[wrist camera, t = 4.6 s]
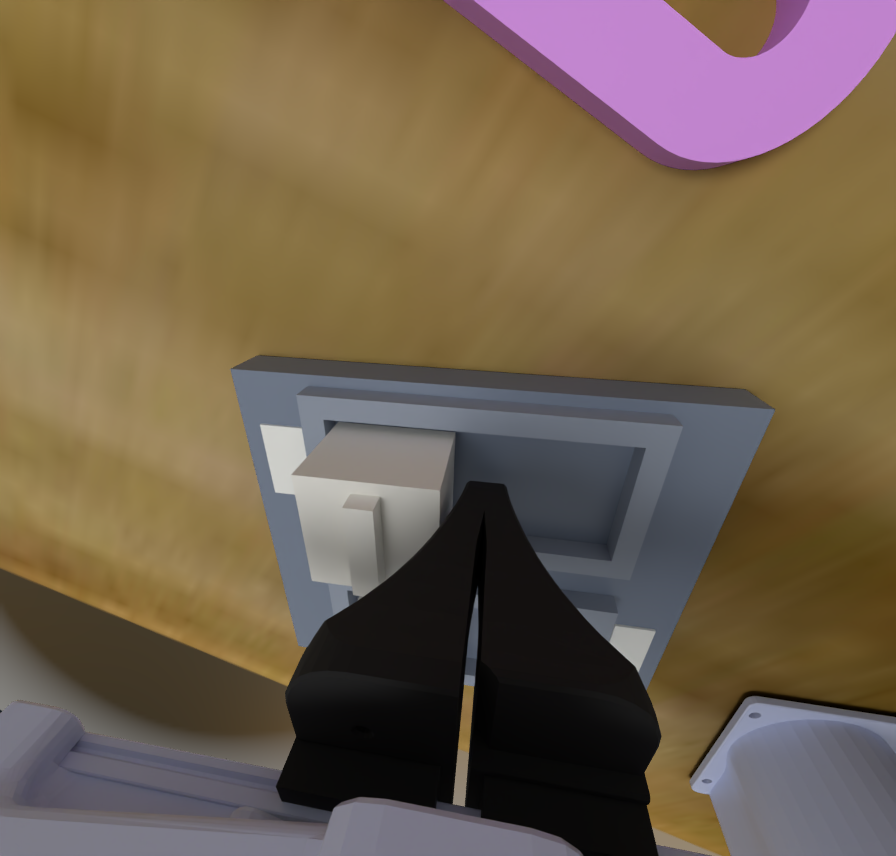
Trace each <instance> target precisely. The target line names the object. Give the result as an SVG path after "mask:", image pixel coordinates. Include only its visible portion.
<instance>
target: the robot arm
mask: <svg viewBox="0 0 896 856" xmlns="http://www.w3.org/2000/svg"><path fill="white" fill-rule="evenodd" d="M477 587H478V646H477V659H476V672H475V685H474V697H473V710H472V723H471V735H470V748H469V761H468V773H467V786H466V798H465V807H463V806H458V805H453V795H454V783H455V773H456V763H457V751H458V742H459V731H460V721H461V710H462V700H463V689H464V679H465V668H466V658H467V647H468V638H469V631H470V625H471V620H472V614H473V609H474V603H475V598H476V593H477ZM285 697H286V704H287V708H288V711H289V714H290V717H291V721H292V724H293V727H294V730H295V734H296V739H295V741H294V744H293V746H292V749H291V751H290V753H289V756H288V758H287V761H286V763H285V765H284V768H283V770H277V769H271V768H267V767H262V766H256V765H252V764H246V763H241V762H236V761H231V760H226V759H221V758H216V757H211V756H206V755H201V754H196V753H191V752H186V751H181V750H176V749H171V748H166V747H161V746H156V745H151V744H145V743H141V742H136V741H131V740H125V739H120V738H115V737H110V736H105V735H100V734H95V733H90V732H85V728H84V726H83V725H82V723H81V721H80V720H79V719H78V718H77V717H76V716H75V715H74V714H73V713H71V712H69V711H67V710H65V709H62V708H58V707H54V706H49V705H43V704H38V703H33V702H27V701H23V700H17V701H13V702H12V703H11V704H10V705H8V706H7V707H6V708H5V709H4V710H3V711H2V712H1V713H0V856H710V855H705V854H700V853H695V852H690V851H685V850H680V849H675V848H670V847H665V846H660V845H656V842H655V838H654V834H653V830H652V826H651V822H650V817H649V813H648V809H647V805H648V804H649V803H650V793H649V789H648V785H647V781H646V777H645V774H644V772H645V770H646V769H647V767H648V765H649V763H650V761H651V760H652V758H653V756H654V754H655V752H656V750H657V749H658V747H659V743H660V740H661V733H660V729H659V725H658V721H657V717H656V714H655V711H654V708H653V705H652V703H651V700H650V698H649V696H648V693H647V691H646V689H645V686H644V684H643V682H642V680H641V678H640V675H639V673H638V671H637V669H636V667H635V666H634V665H633V664H632V663H631V662H630V661H629V660H628V659H627V658H625V657H624V656H623V655H622V654H621V653H620V652H619V651H618V650H617V649H616V648H615V647H613V646H612V645H611V644H610V643H609V642H608V641H607V640H606V639H605V638H604V637H603V636H602V635H601V634H600V633H599V632H598V631H597V630H596V629H595V628H594V627H593V626H592V625H591V624H590V623H589V622H588V621H587V620H586V619H585V618H584V616H583V615H582V614H581V613H580V612H579V611H578V609H577V608H576V607H575V606H574V605H573V603H572V602H571V601H570V600H569V599H568V598H567V596H566V595H565V594H564V593H563V592H562V590H561V589H560V588H559V586H558V585H557V584H556V582H555V581H554V580H553V578H552V577H551V576H550V574H549V573H548V571H547V570H546V568H545V567H544V565H543V564H542V562H541V561H540V559H539V558H538V556H537V554H536V553H535V551H534V549H533V547H532V546H531V544H530V542H529V540H528V539H527V537H526V535H525V533H524V531H523V529H522V527H521V525H520V522H519V520H518V518H517V516H516V514H515V511H514V509H513V506H512V504H511V501H510V498H509V494H508V490H507V487H506V486H505V485H504V484H500V483H490V482H480V481H469V482H467V483H466V486H465V488H464V490H463V492H462V494H461V496H460V498H459V499H458V501H457V503H456V504H455V506H454V507H453V509H452V510H451V512H450V513H449V515H448V516H447V517H446V519H445V520H444V522H443V523H442V524H441V525H440V527H439V528H438V529H437V530H436V532H435V533H434V534H433V535H432V537H431V538H430V539H429V540H428V541H427V542H426V543H425V544H424V545H423V547H422V548H421V549H420V550H419V551H418V552H417V553H416V554H415V555H414V556H413V557H412V558H411V559H410V560H409V561H407V562H406V563H405V564H404V565H403V566H402V567H401V568H400V569H399V570H397V571H396V572H395V573H394V574H393V575H392V576H390V577H389V578H388V579H387V580H385V581H384V582H383V583H381V584H380V585H379V586H377V587H376V588H374V589H373V590H372V591H370V592H369V593H368V594H366V595H365V596H364V597H362V598H361V599H359V600H358V601H356V602H355V603H353V604H351V605H350V606H348V607H347V608H345V609H343V610H342V611H340V612H338V613H337V614H335V615H334V616H332V617H330V618H328V619H327V620H325V621H324V622H323V624H322V625H321V627H320V628H319V630H318V631H317V633H316V634H315V636H314V637H313V639H312V641H311V642H310V644H309V645H308V647H307V648H306V650H305V652H304V654H303V655H302V657H301V659H300V661H299V664H298V666H297V668H296V670H295V672H294V674H293V676H292V679H291V681H290V683H289V685H288V687H287V690H286V692H285ZM690 785H691V788H692V789H693V790H694V791H695V792H698V793H704V794H709V795H710V798H711V801H712V803H713V806H714V809H715V812H716V815H717V817H718V820H719V823H720V826H721V829H722V832H723V834H724V837H725V840H726V843H727V846H728V848H729V851H730V854H731V856H896V717H892V716H885V715H879V714H872V713H866V712H859V711H853V710H846V709H839V708H833V707H826V706H820V705H813V704H807V703H800V702H794V701H787V700H780V699H774V698H767V697H761V696H750V697H747V698H746V699H745V700H744V701H743V703H742V704H741V706H740V707H739V709H738V710H737V711H736V713H735V714H734V716H733V717H732V719H731V720H730V722H729V723H728V725H727V726H726V728H725V729H724V731H723V732H722V733H721V735H720V736H719V738H718V739H717V741H716V742H715V744H714V745H713V747H712V748H711V750H710V751H709V753H708V754H707V756H706V757H705V758H704V760H703V761H702V763H701V764H700V766H699V767H698V769H697V770H696V772H695V773H694V775H693V776H692V778H691V779H690Z"/></svg>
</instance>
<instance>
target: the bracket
mask: <svg viewBox="0 0 896 856" xmlns="http://www.w3.org/2000/svg"><path fill="white" fill-rule="evenodd" d="M443 1H445V2H446V3H447V4H448V5H450V6H451V7H452V8H454V9H455V10H456V11H458V12H459V13H460V14H461V15H463V16H464V17H465V18H467V19H468V20H469V21H471V22H472V23H473V24H474V25H476V26H477V27H478V28H480V29H481V30H482V31H483V32H485V33H486V34H487V35H489V36H490V37H491V38H493V39H494V40H495V41H496V42H498V43H499V44H500V45H502V46H503V47H504V48H505V49H507V50H508V51H509V52H511V53H512V54H513V55H515V56H516V57H517V58H518V59H520V60H521V61H522V62H524V63H525V64H526V65H528V66H529V67H530V68H531V69H533V70H534V71H535V72H537V73H538V74H539V75H540V76H542V77H543V78H544V79H546V80H547V81H548V82H550V83H551V84H552V85H553V86H555V87H556V88H557V89H559V90H560V91H561V92H563V93H564V94H565V95H566V96H568V97H569V98H570V99H572V100H573V101H574V102H575V103H577V104H578V105H579V106H581V107H582V108H583V109H585V110H586V111H587V112H588V113H590V114H591V115H592V116H594V117H595V118H596V119H597V120H599V121H600V122H601V123H603V124H604V125H605V126H607V127H608V128H609V129H610V130H612V131H613V132H614V133H616V134H617V135H618V136H620V137H621V138H622V139H623V140H625V141H626V142H627V143H629V144H630V145H631V146H632V147H634V148H635V149H636V150H638V151H639V152H640V153H642V154H643V155H645V156H646V157H648V158H649V159H651V160H653V161H655V162H657V163H659V164H662V165H665V166H668V167H671V168H677V169H683V170H701V169H710V168H715V167H720V166H723V165H727V164H730V163H733V162H736V161H740V160H743V159H746V158H750V157H753V156H756V155H759V154H762V153H765V152H767V151H770V150H772V149H774V148H777V147H779V146H780V145H782V144H784V143H786V142H788V141H790V140H792V139H793V138H795V137H797V136H798V135H800V134H801V133H803V132H805V131H806V130H808V129H809V128H810V127H812V126H813V125H814V124H816V123H817V122H818V121H820V120H821V119H822V118H824V117H825V116H826V115H827V114H828V113H829V112H830V111H832V110H833V109H834V108H835V107H836V106H837V105H838V104H839V103H840V102H841V101H842V100H843V99H844V98H845V97H846V96H847V95H848V94H849V93H850V92H851V91H852V90H853V89H854V88H855V87H856V86H857V85H858V84H859V82H860V81H861V80H862V79H863V78H864V77H865V76H866V74H867V73H868V72H869V70H870V69H871V68H872V66H873V65H874V64H875V63H876V61H877V60H878V59H879V57H880V56H881V54H882V53H883V51H884V50H885V48H886V47H887V45H888V44H889V42H890V41H891V39H892V38H893V36H894V34H895V32H896V0H776V2H777V4H776V16H775V21H774V24H773V27H772V30H771V33H770V35H769V37H768V39H767V41H766V43H765V45H764V46H763V48H762V49H761V51H760V52H759V53H758V55H757V56H754V57H749V58H738V57H733V56H731V55H729V54H727V53H725V52H724V51H723V50H721V49H720V48H719V47H718V46H717V45H715V44H714V43H713V42H712V41H711V40H710V39H708V38H707V37H706V36H705V35H704V34H702V33H701V32H700V31H699V30H698V29H696V28H695V27H694V26H693V25H692V24H691V23H689V22H688V21H687V20H686V19H685V18H683V17H682V16H681V15H680V14H679V13H678V12H676V11H675V10H674V9H673V8H672V7H670V6H669V5H668V4H667V3H666V2H665V1H663V0H443Z"/></svg>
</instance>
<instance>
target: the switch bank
mask: <svg viewBox="0 0 896 856" xmlns="http://www.w3.org/2000/svg"><path fill="white" fill-rule="evenodd" d="M231 373H232V378H233V382H234V386H235V390H236V394H237V398H238V402H239V406H240V410H241V414H242V418H243V422H244V426H245V430H246V434H247V438H248V442H249V446H250V450H251V455H252V459H253V463H254V467H255V471H256V475H257V479H258V483H259V487H260V491H261V495H262V499H263V503H264V507H265V511H266V515H267V519H268V523H269V527H270V532H271V536H272V540H273V544H274V548H275V552H276V556H277V560H278V564H279V568H280V572H281V576H282V580H283V584H284V588H285V592H286V596H287V600H288V605H289V609H290V613H291V617H292V621H293V625H294V629H295V633H296V637H297V641H298V645H299V646H303V647H308V645H309V644H310V642H311V641H312V639H313V637H314V636H315V634H316V633H317V631H318V630H319V628H320V627H321V625H322V624H323V622H324V621H325V620H327V619H328V618H330V617H332V616H334V615H335V614H337V613H338V612H340V611H342V610H343V609H345V608H347V607H348V606H350V605H351V604H353V603H355V602H356V601H358V598H359V596H356V595H353V590H352V586H345V585H338V584H331V583H323V582H316V581H312V579H311V573H310V568H309V563H308V558H307V553H306V548H305V543H304V538H303V533H302V528H301V523H300V518H299V512H298V507H297V502H296V497H295V492H294V487H293V482H292V477H291V474H292V473H293V472H294V471H295V470H296V469H297V468H298V467H299V465H300V464H301V463H302V462H303V461H304V460H305V459H306V458H307V456H308V455H309V454H310V453H311V452H312V451H313V450H314V449H315V447H316V446H317V445H318V444H319V443H320V442H321V441H322V440H323V439H324V437H325V436H326V435H327V434H328V433H329V432H330V431H331V430H332V428H333V427H334V426H335V425H336V424H337V423H338V422H345V423H357V424H368V425H379V426H391V427H402V428H413V429H425V430H436V431H447V432H455V457H454V483H453V507H454V506H455V504H456V503H457V501H458V499H459V498H460V496H461V494H462V492H463V490H464V488H465V486H466V483H467V482H469V481H480V482H490V483H500V484H504V485H505V486H506V487H507V490H508V494H509V498H510V501H511V504H512V506H513V509H514V511H515V514H516V516H517V518H518V520H519V522H520V525H521V527H522V529H523V531H524V533H525V535H526V537H527V539H528V540H529V542H530V544H531V546H532V547H533V549H534V551H535V553H536V554H537V556H538V558H539V559H540V561H541V562H542V564H543V565H544V567H545V568H546V570H547V571H548V573H549V574H550V576H551V577H552V578H553V580H554V581H555V582H556V584H557V585H558V586H559V588H560V589H561V590H562V592H563V593H564V594H565V595H566V596H567V598H568V599H569V600H570V601H571V602H572V603H573V605H574V606H575V607H576V608H577V609H578V611H579V612H580V613H581V614H582V615H583V616H584V618H585V619H586V620H587V621H588V622H589V623H590V624H591V625H592V626H593V627H594V628H595V629H596V630H597V631H598V632H599V633H600V634H601V635H602V636H603V637H604V638H605V639H606V640H607V641H608V642H609V643H610V644H611V645H612V646H613V647H615V648H616V649H617V650H618V651H619V652H620V653H621V654H622V655H623V656H624V657H625V658H627V659H628V660H629V661H630V662H631V663H632V664H633V665H634V666H635V667H636V669H637V671H638V673H639V675H640V678H641V680H642V682H643V684H644V686H645V689H647V687H648V685H649V683H650V681H651V679H652V676H653V674H654V672H655V670H656V668H657V666H658V663H659V661H660V659H661V657H662V655H663V652H664V650H665V648H666V646H667V644H668V642H669V639H670V637H671V635H672V633H673V631H674V629H675V626H676V624H677V622H678V620H679V618H680V616H681V613H682V611H683V609H684V607H685V605H686V603H687V600H688V598H689V596H690V594H691V592H692V590H693V587H694V585H695V583H696V581H697V579H698V576H699V574H700V572H701V570H702V568H703V566H704V563H705V561H706V559H707V557H708V555H709V553H710V550H711V548H712V546H713V544H714V542H715V540H716V537H717V535H718V533H719V531H720V529H721V527H722V524H723V522H724V520H725V518H726V516H727V514H728V511H729V509H730V507H731V505H732V503H733V500H734V498H735V496H736V494H737V492H738V490H739V487H740V485H741V483H742V481H743V479H744V477H745V474H746V472H747V470H748V468H749V466H750V464H751V461H752V459H753V457H754V455H755V453H756V451H757V448H758V446H759V444H760V442H761V440H762V438H763V435H764V433H765V431H766V429H767V427H768V424H769V422H770V420H771V418H772V416H773V414H774V411H775V409H774V408H772V407H771V406H769V405H768V404H766V403H765V402H763V401H762V400H760V399H759V398H757V397H756V396H754V395H753V394H751V393H750V392H748V391H747V390H745V389H732V388H718V387H704V386H689V385H675V384H660V383H646V382H632V381H617V380H603V379H589V378H574V377H560V376H546V375H531V374H517V373H503V372H488V371H474V370H460V369H445V368H431V367H416V366H402V365H388V364H373V363H359V362H345V361H330V360H316V359H302V358H287V357H273V356H259V355H258V356H255V357H253V358H251V359H249V360H247V361H245V362H243V363H241V364H239V365H237V366H235V367H233V368H231ZM477 646H478V587H477V593H476V598H475V603H474V609H473V614H472V620H471V625H470V631H469V638H468V647H467V658H466V668H465V679H464V685H470V686H474V685H475V672H476V659H477Z"/></svg>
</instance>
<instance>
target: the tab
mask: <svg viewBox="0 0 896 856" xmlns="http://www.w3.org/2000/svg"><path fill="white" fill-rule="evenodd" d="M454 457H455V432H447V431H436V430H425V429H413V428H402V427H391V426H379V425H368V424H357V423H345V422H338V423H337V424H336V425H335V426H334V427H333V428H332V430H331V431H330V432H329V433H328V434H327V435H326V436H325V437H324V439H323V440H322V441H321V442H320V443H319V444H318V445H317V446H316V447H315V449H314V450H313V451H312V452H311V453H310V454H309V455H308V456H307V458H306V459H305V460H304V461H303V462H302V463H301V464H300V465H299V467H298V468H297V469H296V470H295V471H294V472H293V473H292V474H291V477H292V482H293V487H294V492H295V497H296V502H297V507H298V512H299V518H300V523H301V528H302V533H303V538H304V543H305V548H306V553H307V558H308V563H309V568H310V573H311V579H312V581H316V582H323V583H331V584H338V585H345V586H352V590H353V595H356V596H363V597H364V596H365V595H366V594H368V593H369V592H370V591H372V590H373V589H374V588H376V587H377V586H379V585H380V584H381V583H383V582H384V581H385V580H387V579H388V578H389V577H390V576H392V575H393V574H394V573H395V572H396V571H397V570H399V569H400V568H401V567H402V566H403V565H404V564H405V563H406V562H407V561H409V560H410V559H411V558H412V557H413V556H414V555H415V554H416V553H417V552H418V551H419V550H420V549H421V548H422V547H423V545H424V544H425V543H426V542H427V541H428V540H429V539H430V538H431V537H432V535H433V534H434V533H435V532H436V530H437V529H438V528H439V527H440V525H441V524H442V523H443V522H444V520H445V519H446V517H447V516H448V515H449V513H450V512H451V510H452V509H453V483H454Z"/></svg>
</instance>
